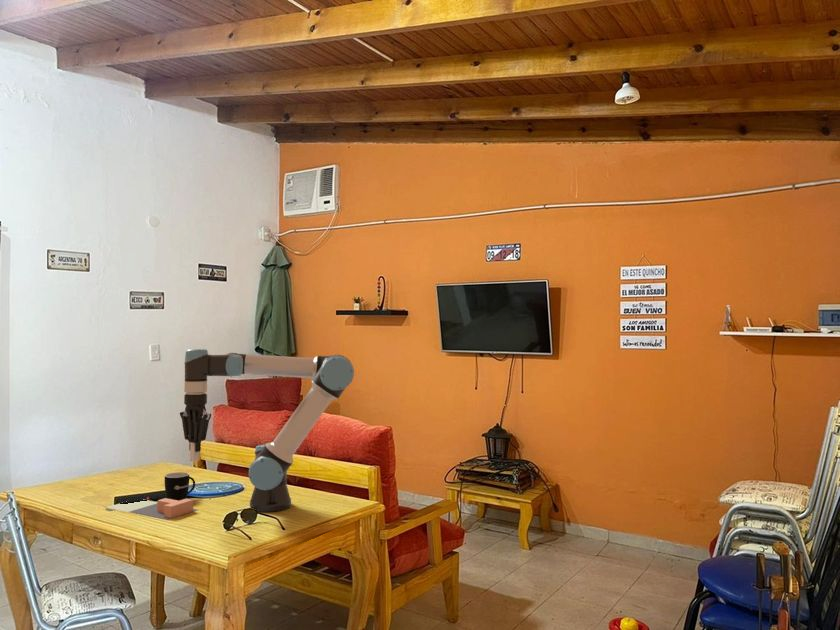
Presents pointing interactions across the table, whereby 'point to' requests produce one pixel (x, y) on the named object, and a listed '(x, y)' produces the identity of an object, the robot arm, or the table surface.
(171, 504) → the t block
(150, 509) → the mat
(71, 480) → the table surface
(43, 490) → the table surface
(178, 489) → the mug
